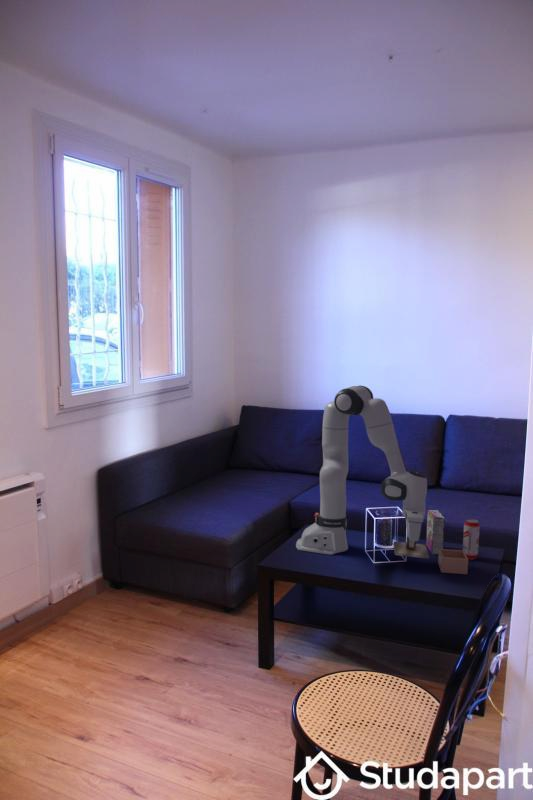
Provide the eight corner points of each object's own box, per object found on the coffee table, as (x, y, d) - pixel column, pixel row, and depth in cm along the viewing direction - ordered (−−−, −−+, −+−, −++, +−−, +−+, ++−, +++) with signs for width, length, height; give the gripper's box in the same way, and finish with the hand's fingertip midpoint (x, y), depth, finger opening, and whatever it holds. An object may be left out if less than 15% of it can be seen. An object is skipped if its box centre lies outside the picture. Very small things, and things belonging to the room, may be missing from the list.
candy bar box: (425, 545, 278) (427, 509, 276) (436, 545, 278) (438, 509, 276) (431, 554, 267) (433, 517, 265) (443, 555, 267) (445, 517, 265)
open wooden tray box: (441, 572, 248) (442, 557, 247) (438, 562, 258) (438, 548, 257) (467, 574, 246) (468, 559, 246) (463, 564, 256) (464, 550, 255)
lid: (394, 554, 248) (395, 542, 248) (393, 543, 261) (394, 532, 260) (428, 558, 246) (429, 546, 246) (425, 546, 259) (426, 535, 259)
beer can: (475, 555, 267) (478, 518, 265) (479, 560, 261) (481, 523, 259) (460, 554, 268) (462, 518, 266) (463, 559, 262) (466, 522, 260)
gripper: (404, 503, 262) (401, 535, 264) (407, 518, 242) (404, 552, 244) (419, 504, 261) (416, 536, 263) (424, 519, 241) (421, 554, 243)
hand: (410, 544), depth 253 cm, fingers closed on lid, 3 cm apart
